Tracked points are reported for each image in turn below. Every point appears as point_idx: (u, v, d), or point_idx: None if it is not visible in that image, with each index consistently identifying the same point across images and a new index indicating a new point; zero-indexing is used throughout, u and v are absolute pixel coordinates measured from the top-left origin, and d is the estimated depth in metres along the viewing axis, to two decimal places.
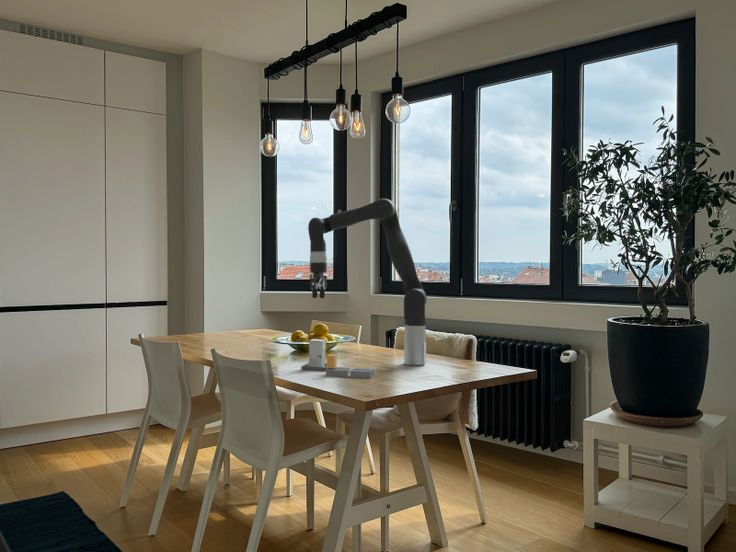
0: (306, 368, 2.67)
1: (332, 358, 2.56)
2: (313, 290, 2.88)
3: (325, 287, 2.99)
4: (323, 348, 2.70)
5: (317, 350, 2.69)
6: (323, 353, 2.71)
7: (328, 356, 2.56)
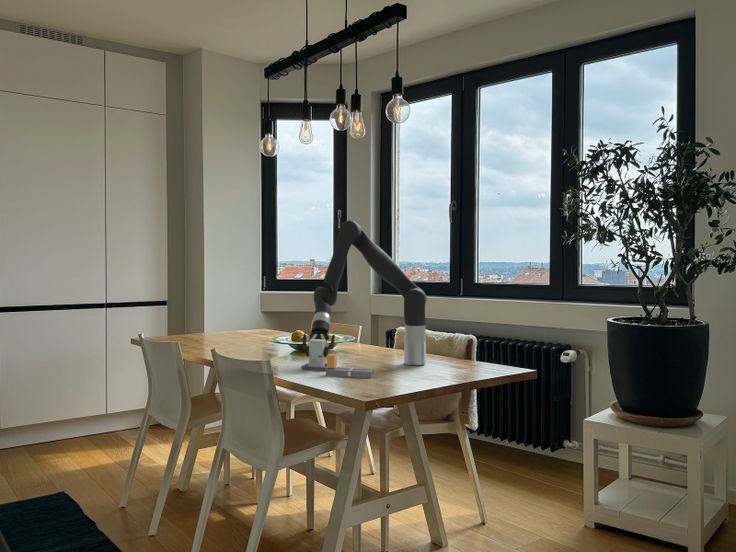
0: (306, 368, 2.67)
1: (332, 358, 2.56)
2: None
3: (330, 345, 2.72)
4: (323, 348, 2.70)
5: (317, 349, 2.69)
6: (323, 353, 2.71)
7: (328, 356, 2.56)
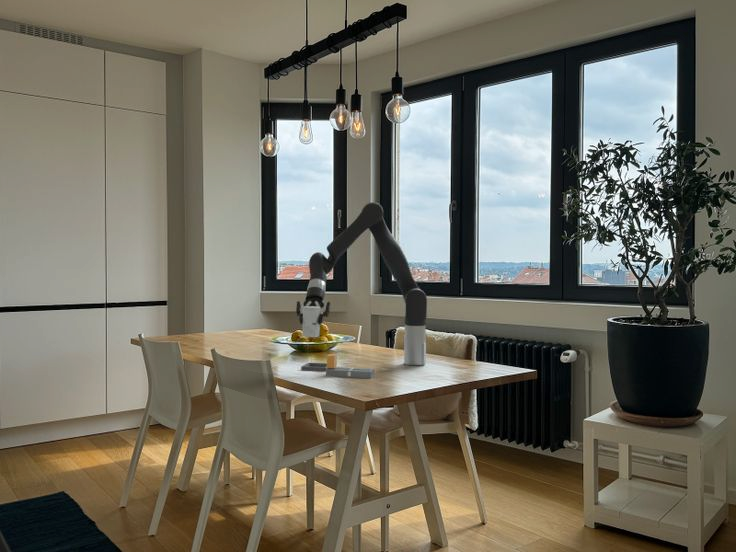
0: (306, 368, 2.67)
1: (332, 358, 2.56)
2: (300, 316, 2.62)
3: (325, 312, 2.61)
4: (317, 315, 2.59)
5: (311, 317, 2.58)
6: (318, 320, 2.60)
7: (328, 356, 2.56)
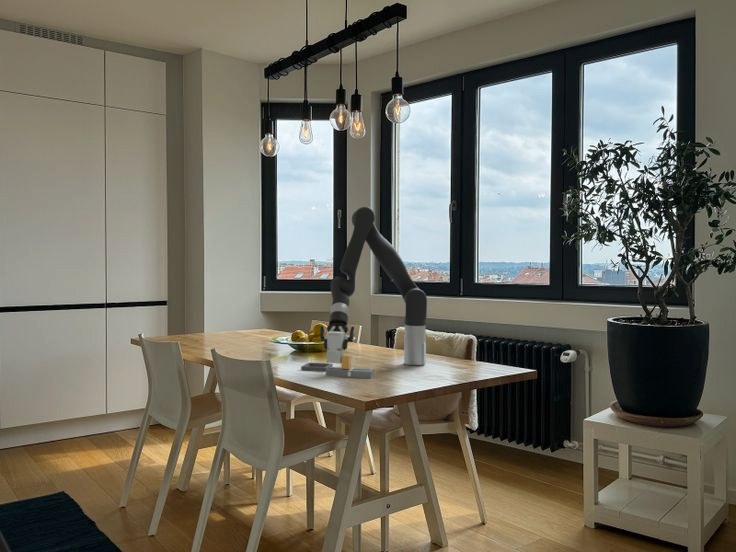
0: (306, 368, 2.67)
1: (347, 359, 2.55)
2: (324, 342, 2.59)
3: (349, 337, 2.58)
4: (342, 341, 2.56)
5: (335, 342, 2.55)
6: (342, 346, 2.57)
7: (343, 357, 2.55)
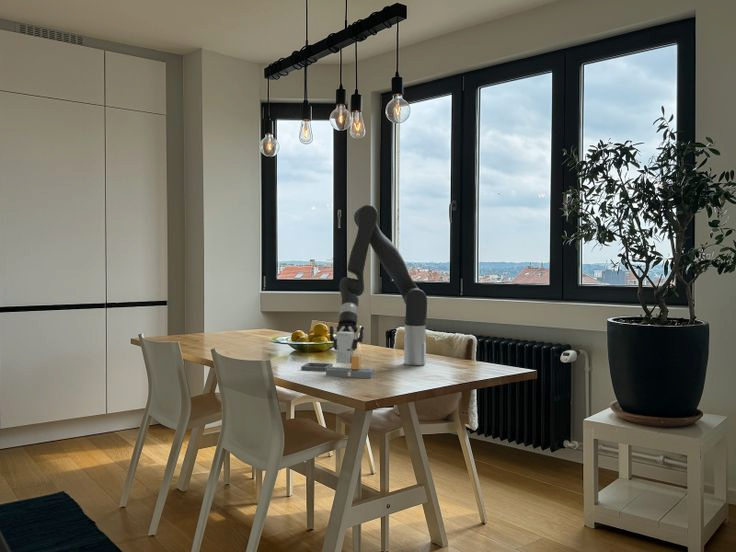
0: (306, 368, 2.67)
1: (357, 359, 2.54)
2: (334, 342, 2.58)
3: (359, 337, 2.58)
4: (352, 341, 2.56)
5: (345, 342, 2.55)
6: (352, 346, 2.56)
7: (353, 357, 2.54)
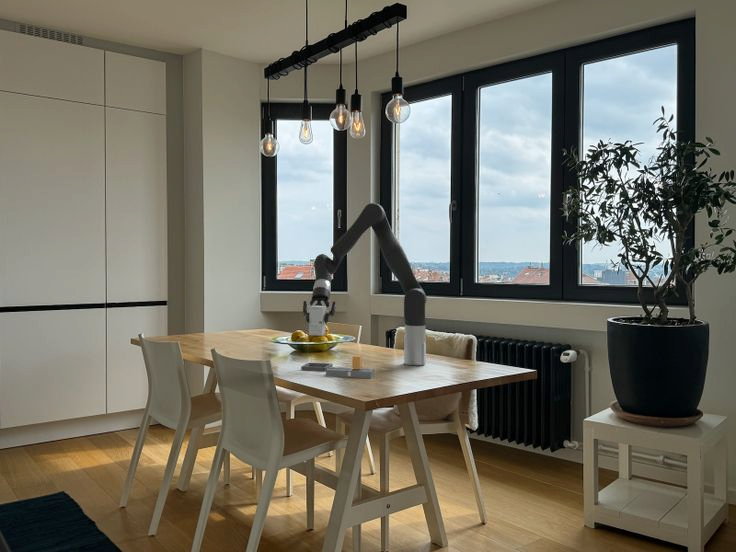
0: (306, 368, 2.67)
1: (358, 359, 2.54)
2: None
3: (330, 311, 2.72)
4: (323, 314, 2.70)
5: (317, 316, 2.69)
6: (324, 319, 2.70)
7: (354, 357, 2.54)
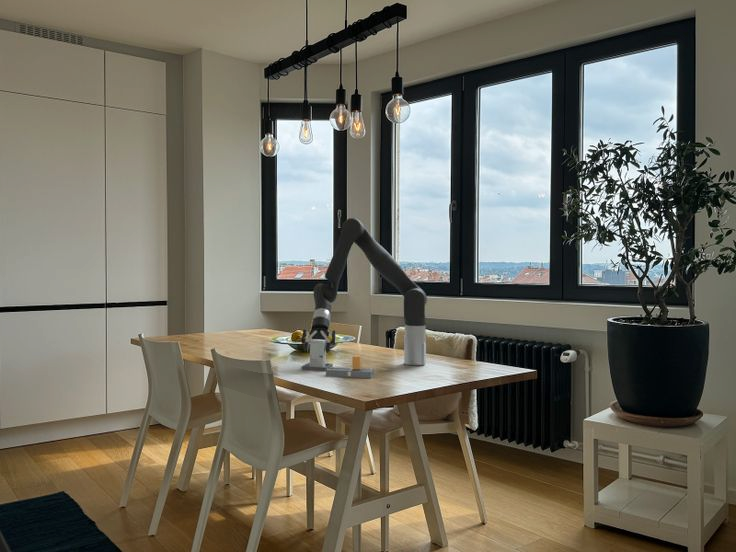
0: (306, 368, 2.67)
1: (358, 359, 2.54)
2: (305, 345, 2.73)
3: (332, 341, 2.72)
4: (324, 348, 2.70)
5: (318, 350, 2.69)
6: (324, 353, 2.71)
7: (354, 357, 2.54)
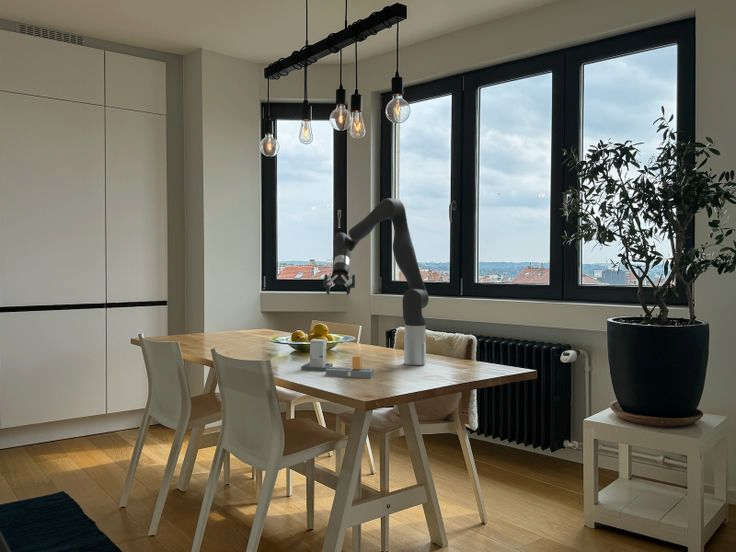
0: (306, 368, 2.67)
1: (358, 359, 2.54)
2: None
3: (352, 284, 2.90)
4: (324, 348, 2.70)
5: (318, 350, 2.69)
6: (324, 353, 2.71)
7: (354, 357, 2.54)
